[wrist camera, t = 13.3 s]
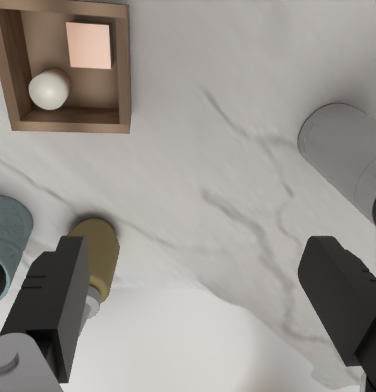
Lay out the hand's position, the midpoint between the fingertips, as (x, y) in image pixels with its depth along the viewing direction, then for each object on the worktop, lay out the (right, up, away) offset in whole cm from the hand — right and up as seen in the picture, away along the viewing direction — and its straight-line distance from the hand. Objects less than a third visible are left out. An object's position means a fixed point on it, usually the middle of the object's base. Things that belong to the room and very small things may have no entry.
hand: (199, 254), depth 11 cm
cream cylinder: (-16, +15, +25) cm, 33 cm away
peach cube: (-11, +19, +23) cm, 32 cm away
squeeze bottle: (-15, -4, +38) cm, 41 cm away
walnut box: (-13, +18, +25) cm, 33 cm away
